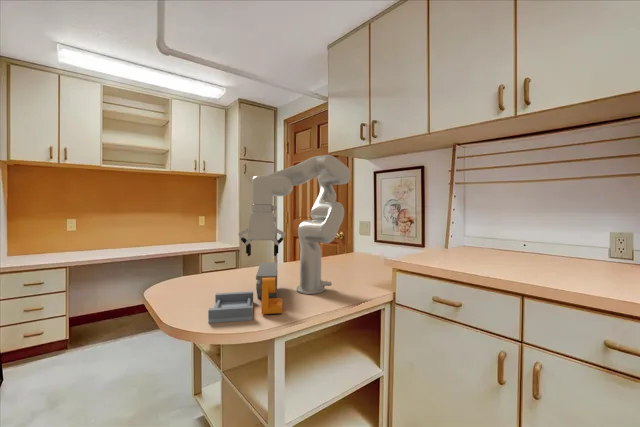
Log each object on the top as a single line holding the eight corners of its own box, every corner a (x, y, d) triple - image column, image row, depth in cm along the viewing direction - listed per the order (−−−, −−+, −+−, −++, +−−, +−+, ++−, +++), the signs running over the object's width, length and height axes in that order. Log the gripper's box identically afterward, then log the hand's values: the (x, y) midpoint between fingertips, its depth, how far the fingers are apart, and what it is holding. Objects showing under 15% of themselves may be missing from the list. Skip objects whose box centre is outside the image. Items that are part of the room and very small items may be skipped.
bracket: (282, 315, 103) (282, 281, 102) (261, 316, 102) (261, 282, 101) (282, 304, 113) (282, 274, 113) (263, 305, 112) (263, 274, 112)
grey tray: (253, 301, 116) (253, 291, 116) (252, 319, 98) (252, 307, 98) (216, 304, 113) (216, 293, 113) (208, 323, 95) (208, 310, 95)
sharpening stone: (260, 285, 139) (260, 262, 138) (277, 284, 140) (277, 262, 139) (256, 303, 114) (256, 276, 113) (276, 303, 115) (276, 275, 114)
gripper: (286, 209, 112) (286, 253, 113) (240, 209, 111) (240, 253, 112) (285, 209, 105) (285, 257, 105) (236, 209, 104) (236, 257, 104)
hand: (262, 255), depth 109 cm, fingers open, 9 cm apart
